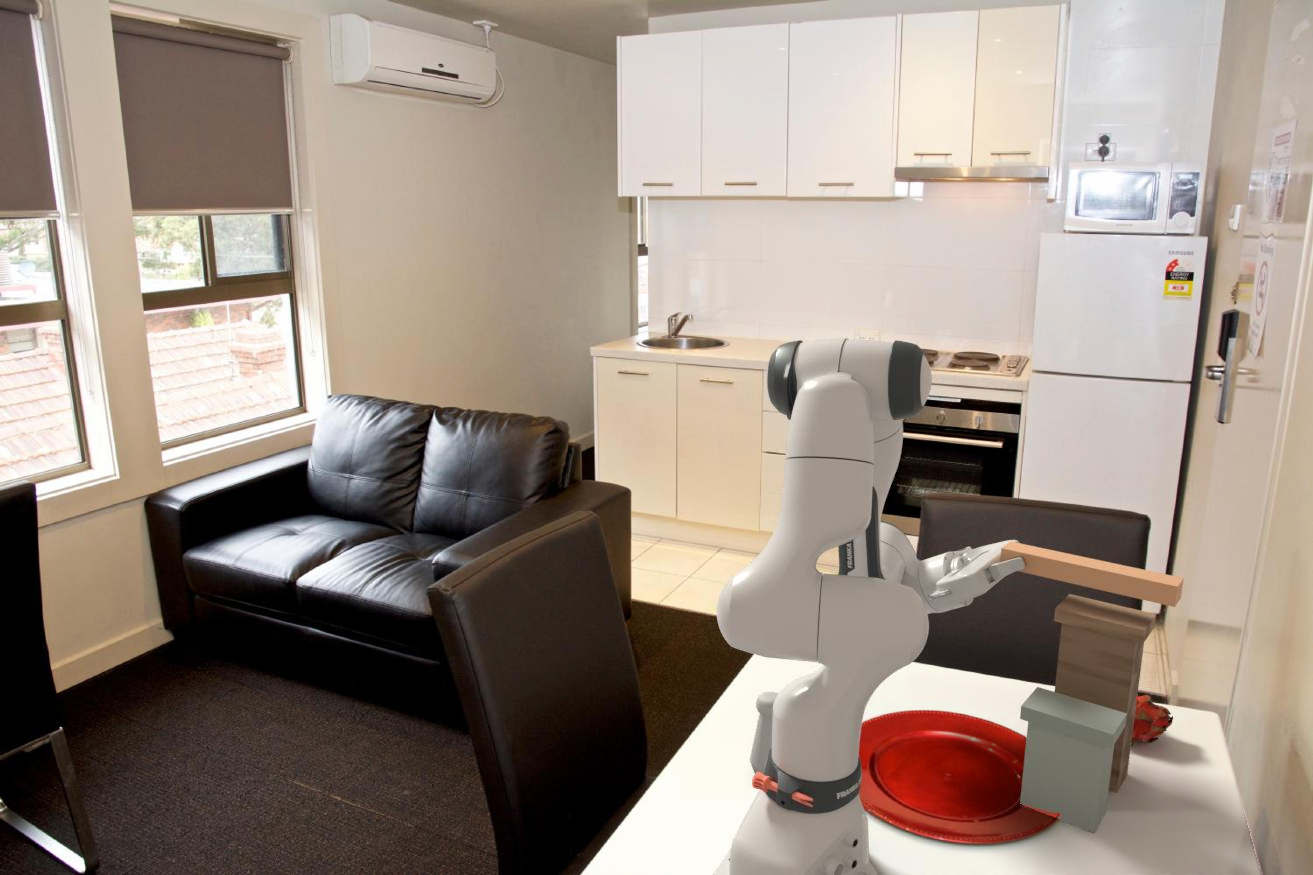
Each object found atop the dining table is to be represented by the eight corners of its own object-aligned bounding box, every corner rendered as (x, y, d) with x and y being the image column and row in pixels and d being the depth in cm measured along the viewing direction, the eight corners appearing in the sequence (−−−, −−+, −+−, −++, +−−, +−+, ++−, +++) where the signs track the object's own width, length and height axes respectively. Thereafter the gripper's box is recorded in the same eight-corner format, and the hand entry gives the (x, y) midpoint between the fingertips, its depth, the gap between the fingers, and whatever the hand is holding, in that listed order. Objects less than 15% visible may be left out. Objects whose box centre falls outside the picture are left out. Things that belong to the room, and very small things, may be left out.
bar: (1174, 607, 130) (1177, 586, 130) (999, 566, 145) (1001, 548, 144) (1180, 598, 133) (1183, 578, 133) (1008, 559, 148) (1010, 541, 147)
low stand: (1100, 837, 129) (1113, 734, 125) (1011, 803, 136) (1021, 705, 133) (1114, 812, 134) (1126, 713, 131) (1027, 781, 142) (1037, 686, 138)
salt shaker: (787, 764, 146) (790, 687, 143) (789, 786, 140) (792, 706, 137) (749, 762, 146) (751, 685, 143) (749, 784, 141) (751, 704, 138)
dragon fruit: (1086, 740, 155) (1160, 754, 155) (1110, 736, 148) (1188, 750, 147) (1086, 688, 159) (1159, 700, 158) (1109, 680, 151) (1186, 694, 150)
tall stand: (1123, 796, 138) (1144, 630, 132) (1038, 766, 145) (1055, 608, 139) (1135, 774, 143) (1156, 614, 137) (1052, 747, 151) (1069, 593, 145)
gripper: (914, 581, 145) (996, 555, 136) (965, 545, 161) (1042, 521, 152) (932, 620, 144) (1015, 597, 136) (981, 580, 160) (1059, 557, 151)
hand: (1030, 556), depth 144 cm, fingers closed on bar, 4 cm apart
